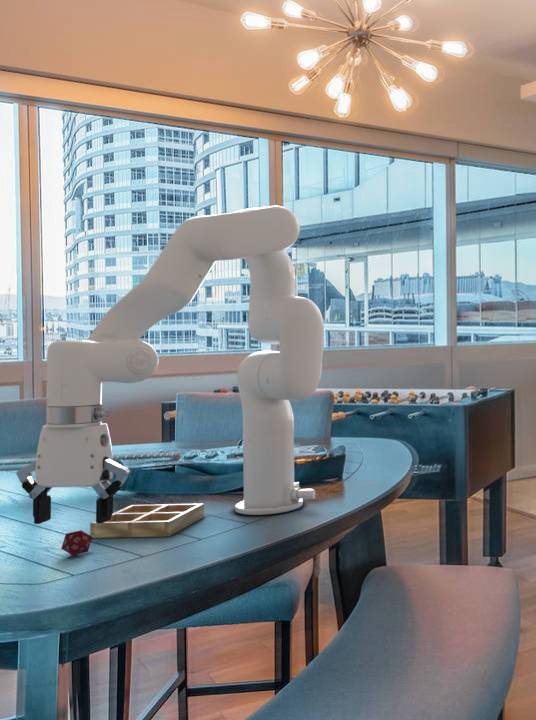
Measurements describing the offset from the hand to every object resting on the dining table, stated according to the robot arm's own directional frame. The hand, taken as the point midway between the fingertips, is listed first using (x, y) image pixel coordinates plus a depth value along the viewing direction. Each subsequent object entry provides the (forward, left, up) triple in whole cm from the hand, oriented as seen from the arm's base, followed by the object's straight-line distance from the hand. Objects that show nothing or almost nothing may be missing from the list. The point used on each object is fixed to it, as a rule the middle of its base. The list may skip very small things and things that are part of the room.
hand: (73, 521), depth 130 cm
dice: (0, 0, -6) cm, 6 cm away
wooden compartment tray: (-3, -17, -6) cm, 19 cm away
